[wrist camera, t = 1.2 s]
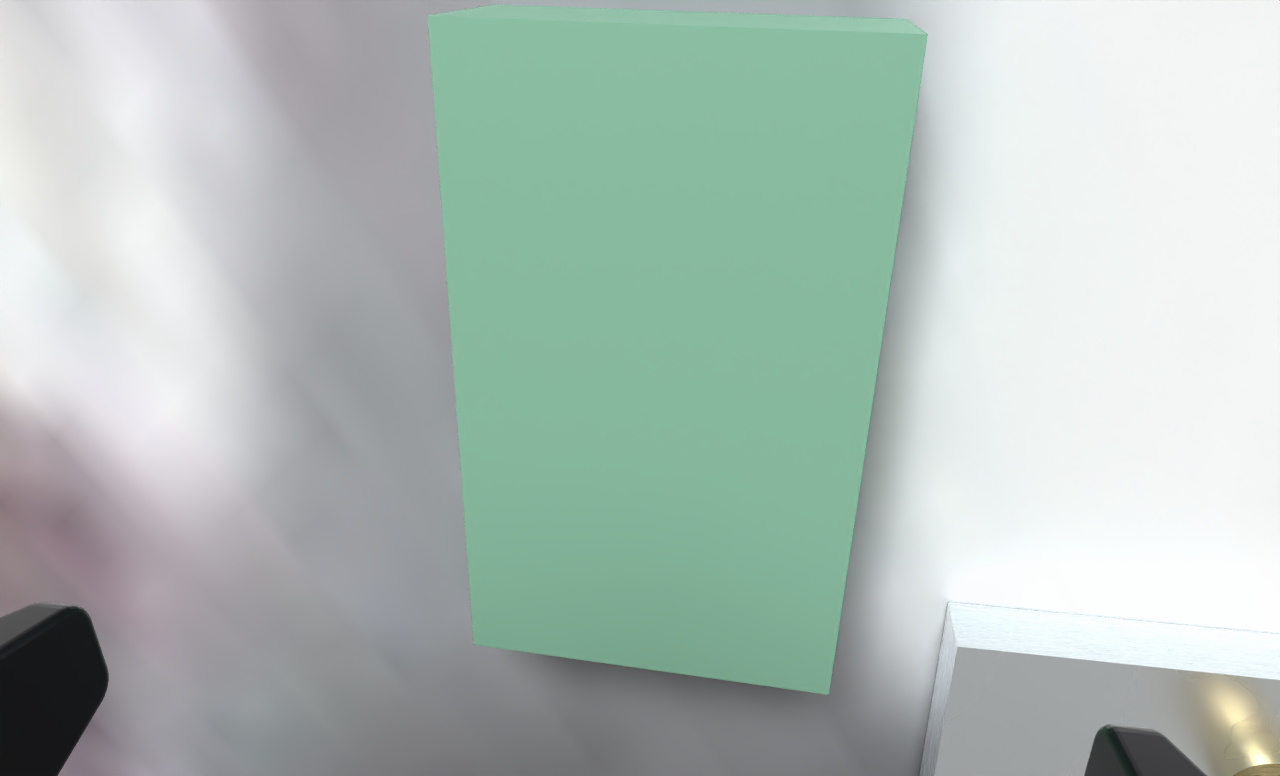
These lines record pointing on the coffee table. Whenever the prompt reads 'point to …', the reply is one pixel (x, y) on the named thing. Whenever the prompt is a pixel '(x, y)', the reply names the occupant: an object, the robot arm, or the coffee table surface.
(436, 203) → the coffee table surface
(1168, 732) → the white peg board
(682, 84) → the mint green rectangular block
